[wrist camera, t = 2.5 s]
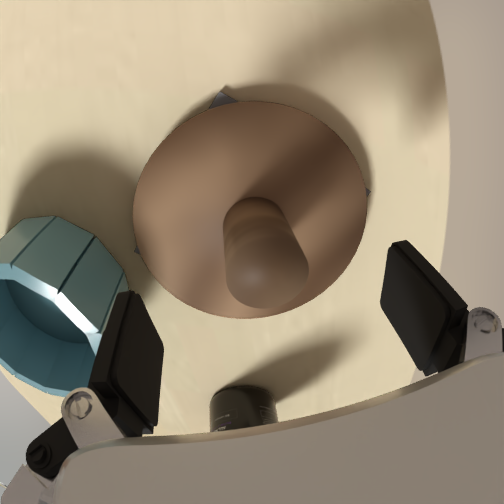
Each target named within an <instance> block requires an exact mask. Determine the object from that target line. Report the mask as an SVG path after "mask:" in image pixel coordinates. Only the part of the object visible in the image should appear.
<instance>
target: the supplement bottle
mask: <svg viewBox="0 0 504 504" xmlns="http://www.w3.org/2000/svg"><path fill="white" fill-rule="evenodd" d="M273 423H278V417H277V411H276V406H275V401H274V398H273V397H272V395H271V394H270V393H269V392H267V391H265V390H263V389H261V388H257V387H250V386H241V387H233V388H229V389H226V390H223V391H221V392H219V393H218V394H216V395H215V396H214V397H213V398H212V400H211V402H210V432H219V431H227V430H235V429H242V428H249V427H255V426H261V425H267V424H273Z"/></svg>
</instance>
